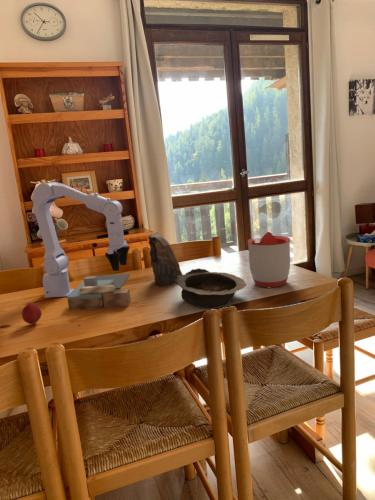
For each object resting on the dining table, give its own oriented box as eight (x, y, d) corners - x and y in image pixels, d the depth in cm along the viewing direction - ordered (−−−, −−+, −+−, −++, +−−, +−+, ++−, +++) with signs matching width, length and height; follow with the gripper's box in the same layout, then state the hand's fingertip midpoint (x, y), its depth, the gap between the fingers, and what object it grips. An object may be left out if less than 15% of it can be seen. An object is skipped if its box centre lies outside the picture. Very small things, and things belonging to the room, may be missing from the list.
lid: (67, 299, 137) (65, 286, 136) (83, 283, 155) (81, 271, 153) (101, 297, 136) (99, 284, 135) (113, 281, 154) (112, 269, 153)
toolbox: (69, 310, 138) (67, 297, 137) (85, 293, 155) (83, 281, 154) (128, 307, 136) (126, 293, 135) (137, 290, 154) (136, 278, 153)
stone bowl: (164, 296, 143) (163, 272, 142) (224, 288, 153) (224, 265, 151) (191, 318, 121) (191, 289, 119) (260, 307, 131) (261, 280, 129)
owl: (161, 288, 154) (156, 238, 150) (142, 282, 163) (136, 235, 159) (184, 280, 162) (180, 232, 158) (165, 275, 171) (160, 230, 167)
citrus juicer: (271, 273, 161) (269, 225, 157) (300, 284, 146) (299, 231, 141) (239, 281, 155) (236, 231, 150) (265, 293, 139) (263, 237, 135)
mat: (83, 291, 158) (83, 290, 158) (97, 276, 178) (97, 275, 178) (120, 288, 157) (120, 288, 157) (130, 274, 177) (130, 273, 177)
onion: (31, 329, 124) (27, 305, 122) (20, 326, 127) (15, 303, 125) (46, 322, 129) (42, 299, 127) (35, 319, 132) (31, 297, 130)
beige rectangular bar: (80, 293, 138) (79, 288, 138) (81, 292, 140) (81, 286, 140) (113, 292, 138) (112, 286, 137) (114, 290, 139) (114, 284, 139)
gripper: (118, 236, 140) (122, 273, 143) (132, 229, 154) (135, 262, 157) (100, 237, 142) (104, 273, 145) (115, 229, 156) (119, 262, 159)
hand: (119, 267), depth 151 cm, fingers open, 7 cm apart
